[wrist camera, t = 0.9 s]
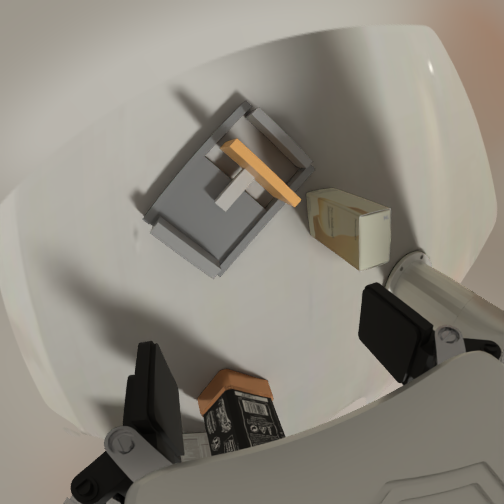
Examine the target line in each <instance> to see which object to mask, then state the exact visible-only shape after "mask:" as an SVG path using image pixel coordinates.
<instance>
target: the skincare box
mask: <svg viewBox="0 0 504 504" xmlns="http://www.w3.org/2000/svg"><path fill="white" fill-rule="evenodd" d="M306 198H307V210H308V220H309V228H310V235H311V236H313V237H314V238H315V239H317V240H318V241H320V242H321V243H322V244H324V245H325V246H326V247H328V248H329V249H331V250H332V251H333V252H335V253H336V254H337V255H339V256H340V257H341V258H343V259H344V260H345V261H347V262H348V263H349V264H351V265H352V266H353V267H355V268H356V269H357V270H359V271H364V270H367V269H370V268H374V267H376V266H380V265H383V264H386V263H388V262H389V260H390V243H391V208H388V207H386V206H383V205H380V204H378V203H375V202H372V201H369V200H367V199H364V198H361V197H358V196H356V195H353V194H350V193H347V192H344V191H341V190H338V189H335V188H327V189H321V190H316V191H311V192H307V193H306Z"/></svg>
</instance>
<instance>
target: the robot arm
mask: <svg viewBox="0 0 504 504" xmlns="http://www.w3.org/2000/svg"><path fill="white" fill-rule="evenodd" d="M358 336H359V339H360V340H361V342H362V343H363V344H364V345H365V346H366V347H367V348H368V349H369V350H370V351H371V353H372V354H373V355H374V356H375V357H376V358H377V359H378V360H379V362H380V363H381V364H382V365H383V366H384V367H385V368H386V369H387V370H388V372H389V373H390V374H391V375H392V376H393V377H394V378H395V379H396V381H397V382H398V383H402V384H403V386H402V387H400V388H398V389H396V390H395V391H393V392H391V393H389V394H387V395H386V396H383V397H382V398H380V399H378V400H376V401H374V402H372V403H370V404H368V405H365V406H363V407H361V408H359V409H357V410H355V411H353V412H351V413H348V414H346V415H344V416H341V417H339V418H337V419H334V420H332V421H329V422H327V423H324V424H322V425H319V426H317V427H314V428H311V429H308V430H306V431H303V432H300V433H297V434H294V435H291V436H288V437H285V438H282V439H279V440H275V441H272V442H268V443H265V444H261V445H258V446H254V447H250V448H246V449H242V450H238V451H233V452H229V453H224V454H220V455H215V456H210V457H204V458H200V459H195V460H190V461H185V462H182V461H181V456H184V455H185V451H184V443H183V435H182V425H181V415H180V403H179V391H178V387H177V384H176V382H175V380H174V378H173V376H172V374H171V372H170V370H169V368H168V365H167V363H166V361H165V359H164V357H163V354H162V352H161V350H160V347H159V345H158V344H157V343H156V344H154V343H153V342H152V341H148V342H142V343H139V345H138V352H137V359H136V367H135V375H129V377H128V380H127V388H126V396H125V406H124V416H123V426H120V427H116V428H114V429H112V430H111V431H110V432H109V433H108V434H107V435H106V437H105V440H104V447H105V450H106V451H105V452H104V453H103V454H102V455H101V456H99V457H98V458H97V459H96V460H95V461H94V462H92V463H91V464H90V465H89V466H88V467H86V468H85V469H84V470H83V471H82V472H80V473H79V474H78V475H77V476H76V477H75V478H74V479H73V480H72V483H71V493H72V497H71V498H70V499H69V498H67V499H66V500H65V502H64V504H504V311H503V310H501V309H500V308H498V307H496V306H495V305H493V304H492V303H490V302H488V301H487V300H485V299H484V298H482V297H480V296H478V295H477V294H475V293H474V292H473V291H471V290H469V289H468V288H466V287H464V286H463V285H461V284H460V283H458V282H456V281H455V280H453V279H451V278H450V277H448V276H446V275H444V274H443V273H441V272H439V271H438V270H436V269H434V268H432V263H431V260H430V258H429V257H428V256H427V255H426V254H424V253H422V252H419V251H415V252H411V253H409V254H407V255H406V256H404V257H403V258H402V259H401V260H400V261H399V262H398V263H397V264H396V266H395V267H394V269H393V270H392V272H391V274H390V276H389V278H388V280H387V283H386V287H383V286H382V285H381V284H379V283H377V282H375V283H373V284H370V285H367V286H366V287H365V289H364V290H363V293H362V304H361V314H360V323H359V332H358ZM175 463H177V464H175Z"/></svg>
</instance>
